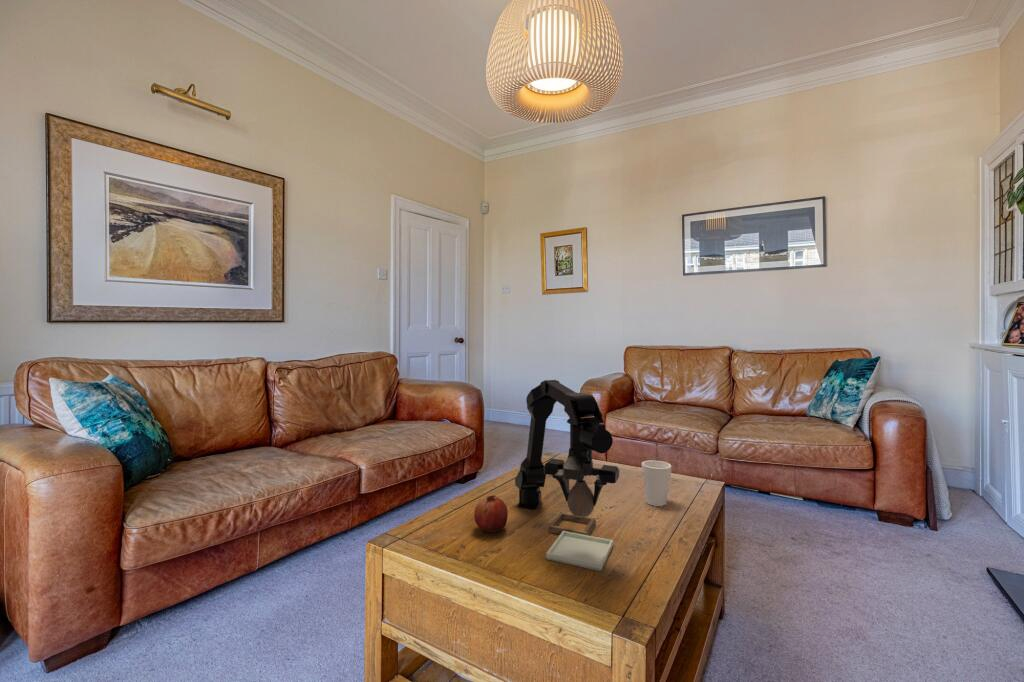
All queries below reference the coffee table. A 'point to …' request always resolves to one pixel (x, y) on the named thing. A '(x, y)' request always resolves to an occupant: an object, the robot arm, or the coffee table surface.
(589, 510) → the vase
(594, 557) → the tray
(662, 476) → the foam cup
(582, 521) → the holder
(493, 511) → the fruit
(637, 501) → the coffee table surface
